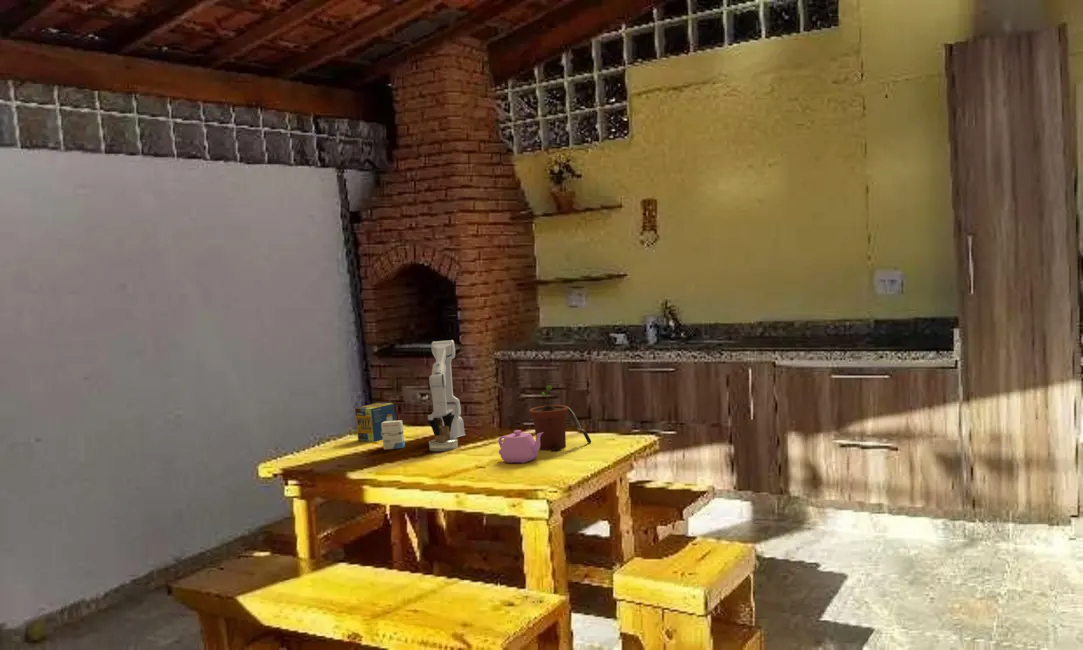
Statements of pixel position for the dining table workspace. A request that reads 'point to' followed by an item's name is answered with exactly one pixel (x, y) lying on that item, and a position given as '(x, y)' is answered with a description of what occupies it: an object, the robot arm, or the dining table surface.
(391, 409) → the protein box
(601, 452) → the dining table surface
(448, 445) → the biscuit tin
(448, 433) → the walnut block
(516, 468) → the dining table surface
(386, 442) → the ink box
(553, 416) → the potted plant
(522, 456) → the teapot
